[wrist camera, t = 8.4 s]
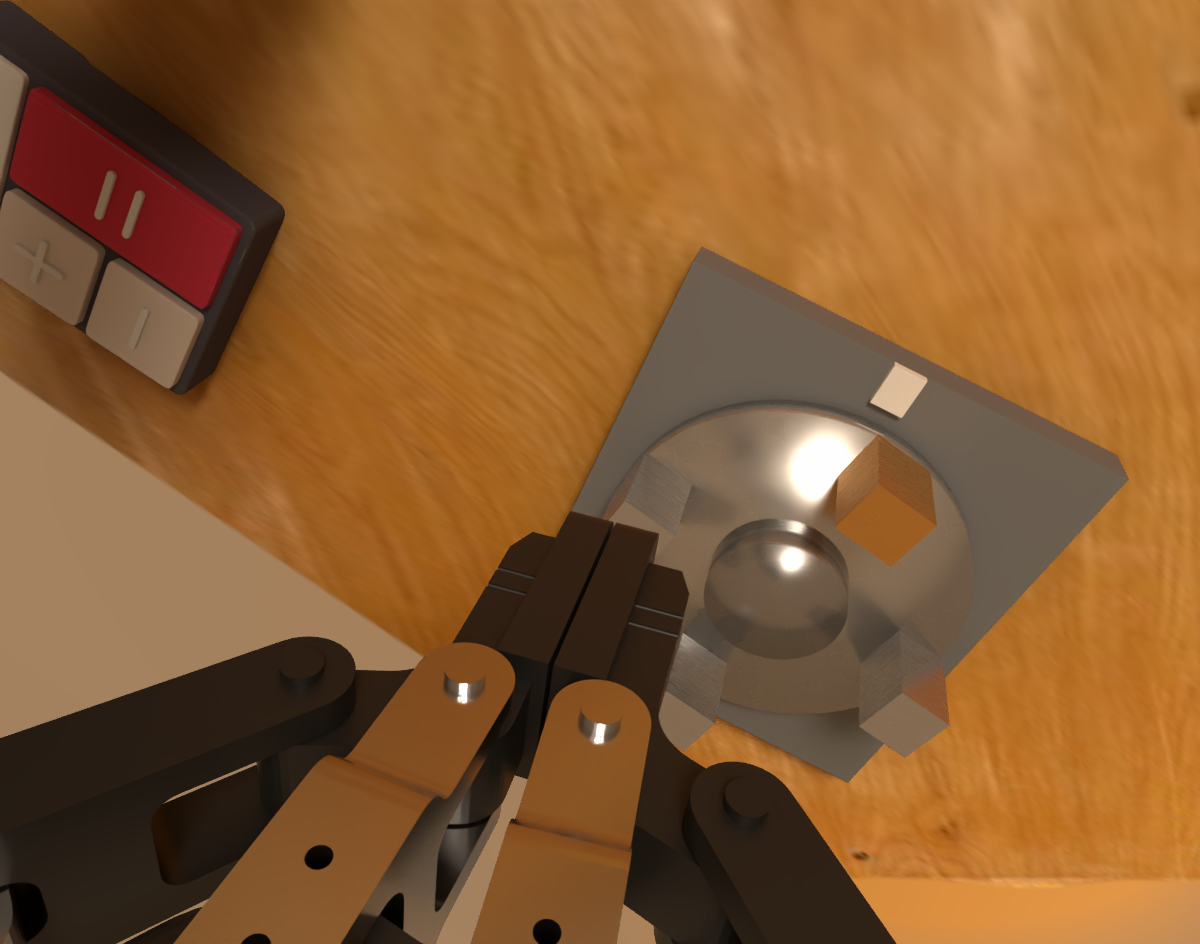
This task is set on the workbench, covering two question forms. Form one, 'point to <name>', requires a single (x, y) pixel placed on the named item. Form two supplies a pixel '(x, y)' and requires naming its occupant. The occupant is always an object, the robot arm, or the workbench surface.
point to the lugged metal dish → (804, 567)
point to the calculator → (120, 212)
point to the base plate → (887, 397)
